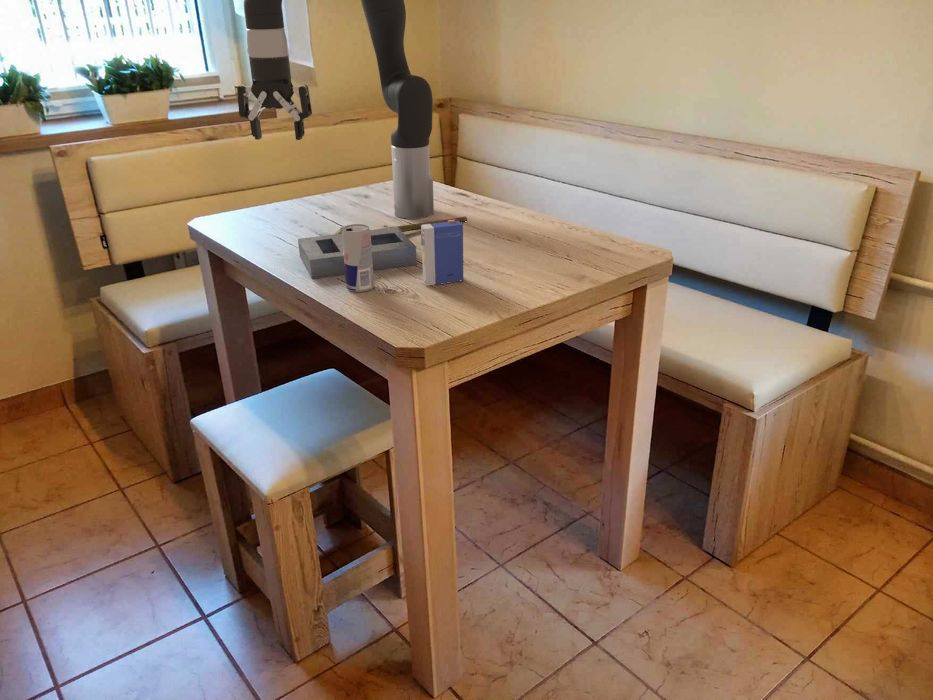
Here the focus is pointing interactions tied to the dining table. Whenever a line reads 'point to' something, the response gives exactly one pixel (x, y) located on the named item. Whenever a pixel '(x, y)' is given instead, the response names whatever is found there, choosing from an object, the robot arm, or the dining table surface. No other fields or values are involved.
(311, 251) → the socket plate
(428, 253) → the walkman
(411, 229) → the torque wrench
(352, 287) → the energy drink
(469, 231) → the dining table surface
